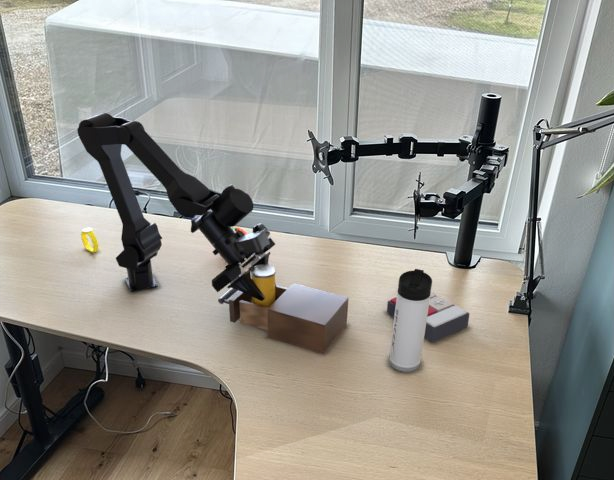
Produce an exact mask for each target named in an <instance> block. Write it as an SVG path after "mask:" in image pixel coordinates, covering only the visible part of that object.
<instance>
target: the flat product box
mask: <svg viewBox="0 0 614 480" xmlns="http://www.w3.org/2000/svg"><path fill="white" fill-rule="evenodd" d="M396 299H397V296H396V297H393V298H390V300H388V301H387V304H386V306H387V307H386V313H387V314H388V315H390V316H392V317H393V318H394V316H395V307H396ZM469 320H470V312H468V311H467V310H466V309H463V308H461V307H459V306H457V305H455V304H454V303H453V302H451V301H449V300H448V299H446V298H443V297H442V296H440V295H437V294H436V293H434V292H432V291H431V295H430V302H429V308H428V315H427V322H426V328H425V335H424V339H426V340H427V341H429V342H430V343H436V342H438V341H440V340H443V339H445V338H448V337H450V336H452V335H454V334H456V333H458V332H460V331H463V330H465V329H467V328H468V326H469Z"/></svg>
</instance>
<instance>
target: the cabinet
mask: <svg viewBox="0 0 614 480" xmlns="http://www.w3.org/2000/svg"><path fill="white" fill-rule="evenodd" d="M287 288H288V289H287V290H286V291H285V292H284V293H283V294H282V295H281V296H280V297H279V298H278V299H277V300H276V301H275V302H274V303H273V304H272V305H271V306H270V307H269V308H268V309H267V311H268V312H267V315H268V330H267V338H268V339H271V340H275V341H279V342H281V343H282V342H283V343H285V344H289V345H291V346H296V347H299V348H301V349H305V350H308V351H312V352H315V353H319V354H323V355H325V353H326V352H327V351H328V349H330V347H331V346H332V344H333V343H334V342H335V341H336V339H337V338H338V337H339V335H341V333H342V332H343V331H344V329H345V328H346V327H347V324H348V314H349V313H348V312H349V311H348V310H349V297H348V296H345V295H341V294H337V293H333V292H329V291H327V290H326V291H325V290H321V289H318V288H314V287H311V286H306V285H302V284H298V283H294V282H293V283H292V284H291V285H290V286H289V287H287Z"/></svg>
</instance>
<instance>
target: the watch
mask: <svg viewBox="0 0 614 480" xmlns="http://www.w3.org/2000/svg"><path fill="white" fill-rule="evenodd" d="M80 233H81V235H80V237H81V241H82V244H83V246H84V248H85V249H86V250H87V251H89V252H90V253H91V254H93V253H96V252H98V251H99V246H100V245H99V241H98V239H97V236H96V234H95V233H94V228H93V227H84V228H82V229H81V232H80ZM87 235H88V236H89V238H90V240H91V243H92V246H91V244H90V242H89V240H88V236H87Z"/></svg>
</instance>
